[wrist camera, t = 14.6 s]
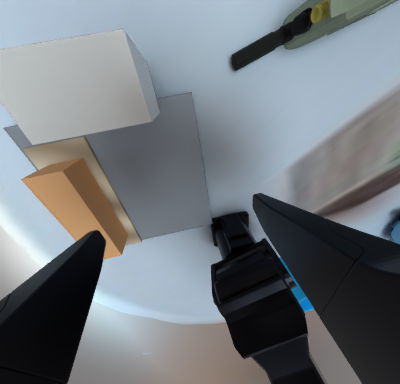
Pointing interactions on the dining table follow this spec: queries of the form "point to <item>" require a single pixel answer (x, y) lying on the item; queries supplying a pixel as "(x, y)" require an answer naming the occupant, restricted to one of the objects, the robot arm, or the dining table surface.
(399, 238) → the decorative pot
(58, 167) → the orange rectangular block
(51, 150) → the pad
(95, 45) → the block
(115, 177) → the board
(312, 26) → the handheld radio
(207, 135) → the dining table surface
